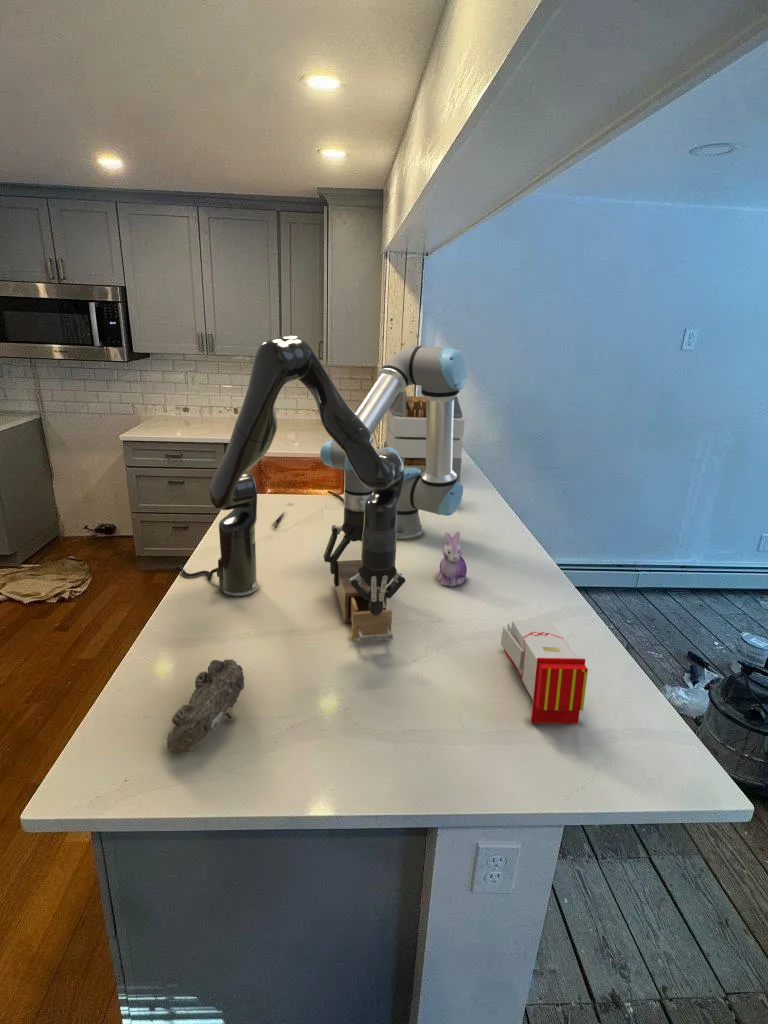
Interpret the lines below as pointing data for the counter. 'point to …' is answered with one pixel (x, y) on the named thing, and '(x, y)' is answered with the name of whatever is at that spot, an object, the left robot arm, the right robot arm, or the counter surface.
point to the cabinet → (348, 585)
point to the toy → (547, 670)
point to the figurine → (452, 562)
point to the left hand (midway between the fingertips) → (375, 613)
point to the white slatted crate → (418, 431)
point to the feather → (278, 520)
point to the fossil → (206, 705)
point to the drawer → (369, 621)
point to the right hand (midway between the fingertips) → (356, 582)
